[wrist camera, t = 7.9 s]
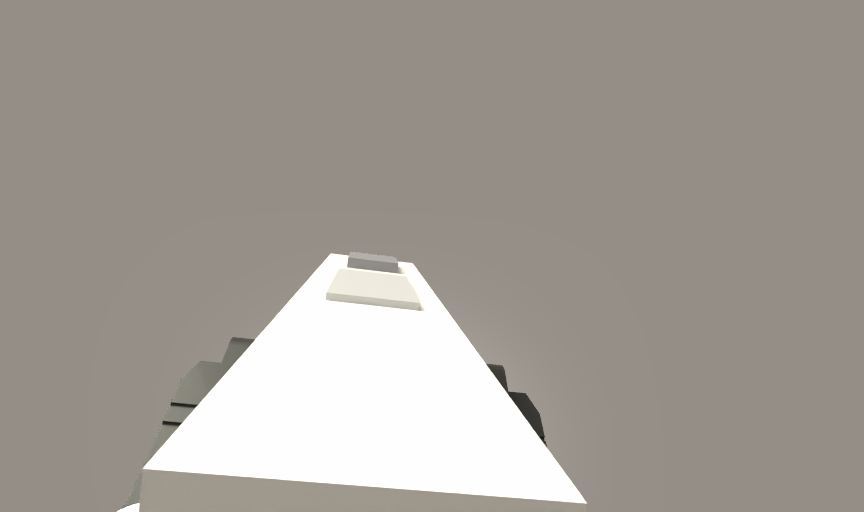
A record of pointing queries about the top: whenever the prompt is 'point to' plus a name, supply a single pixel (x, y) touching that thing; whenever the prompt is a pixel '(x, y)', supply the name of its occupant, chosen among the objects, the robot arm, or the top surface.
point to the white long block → (358, 413)
